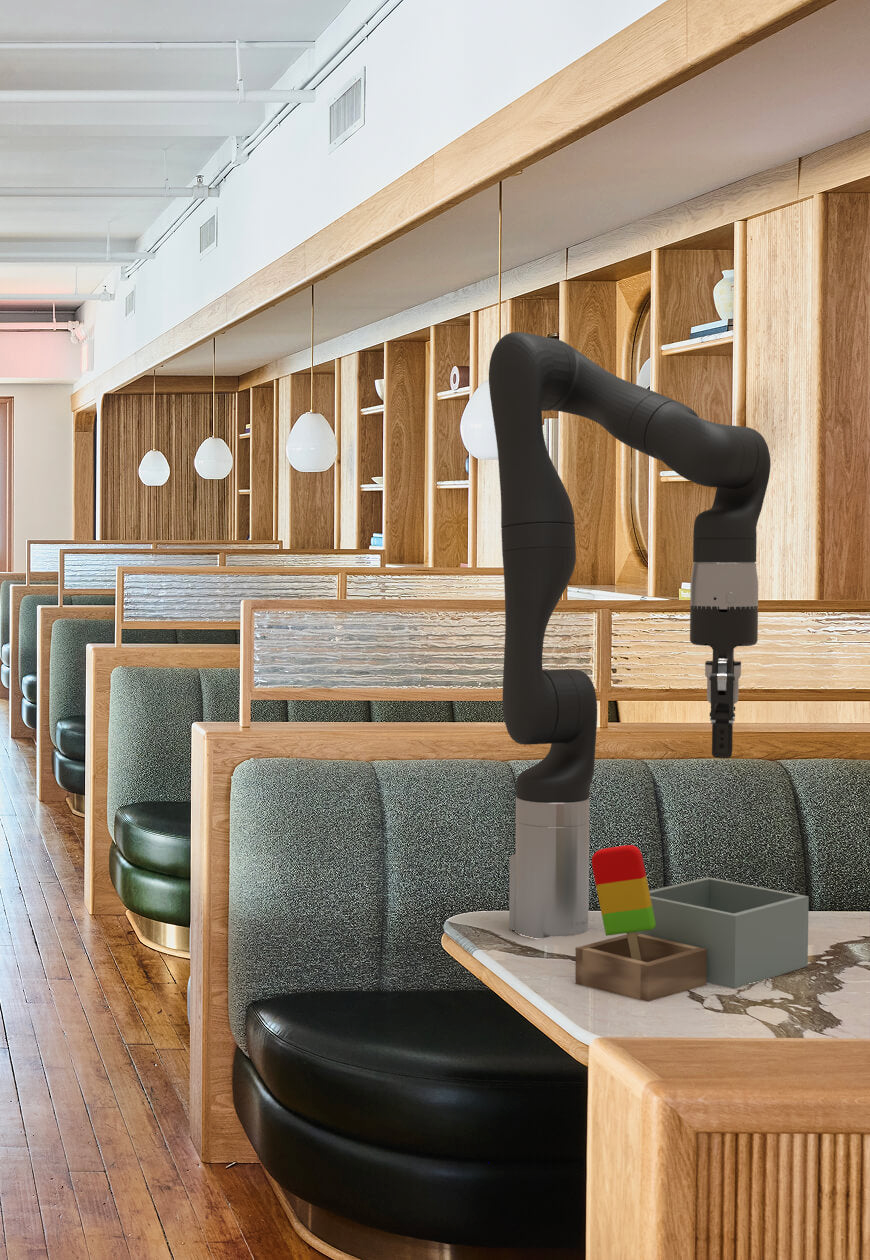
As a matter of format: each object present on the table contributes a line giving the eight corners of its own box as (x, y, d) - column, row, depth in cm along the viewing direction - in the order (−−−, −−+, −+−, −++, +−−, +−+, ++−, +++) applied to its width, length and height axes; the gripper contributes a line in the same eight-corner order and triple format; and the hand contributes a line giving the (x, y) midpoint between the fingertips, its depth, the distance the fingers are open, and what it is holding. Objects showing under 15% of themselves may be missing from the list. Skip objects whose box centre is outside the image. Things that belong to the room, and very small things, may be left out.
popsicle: (588, 852, 161) (592, 849, 163) (615, 989, 161) (618, 984, 163) (637, 845, 159) (640, 842, 161) (664, 983, 159) (667, 978, 161)
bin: (632, 963, 169) (633, 894, 169) (707, 942, 179) (707, 877, 178) (734, 989, 159) (735, 916, 159) (807, 966, 169) (808, 896, 168)
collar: (575, 984, 161) (575, 947, 161) (634, 967, 168) (634, 932, 168) (647, 1004, 154) (648, 966, 153) (706, 985, 160) (706, 949, 160)
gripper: (692, 601, 175) (691, 747, 175) (687, 604, 161) (685, 762, 162) (757, 601, 173) (756, 749, 174) (758, 604, 159) (756, 765, 160)
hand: (722, 755), depth 168 cm, fingers closed
